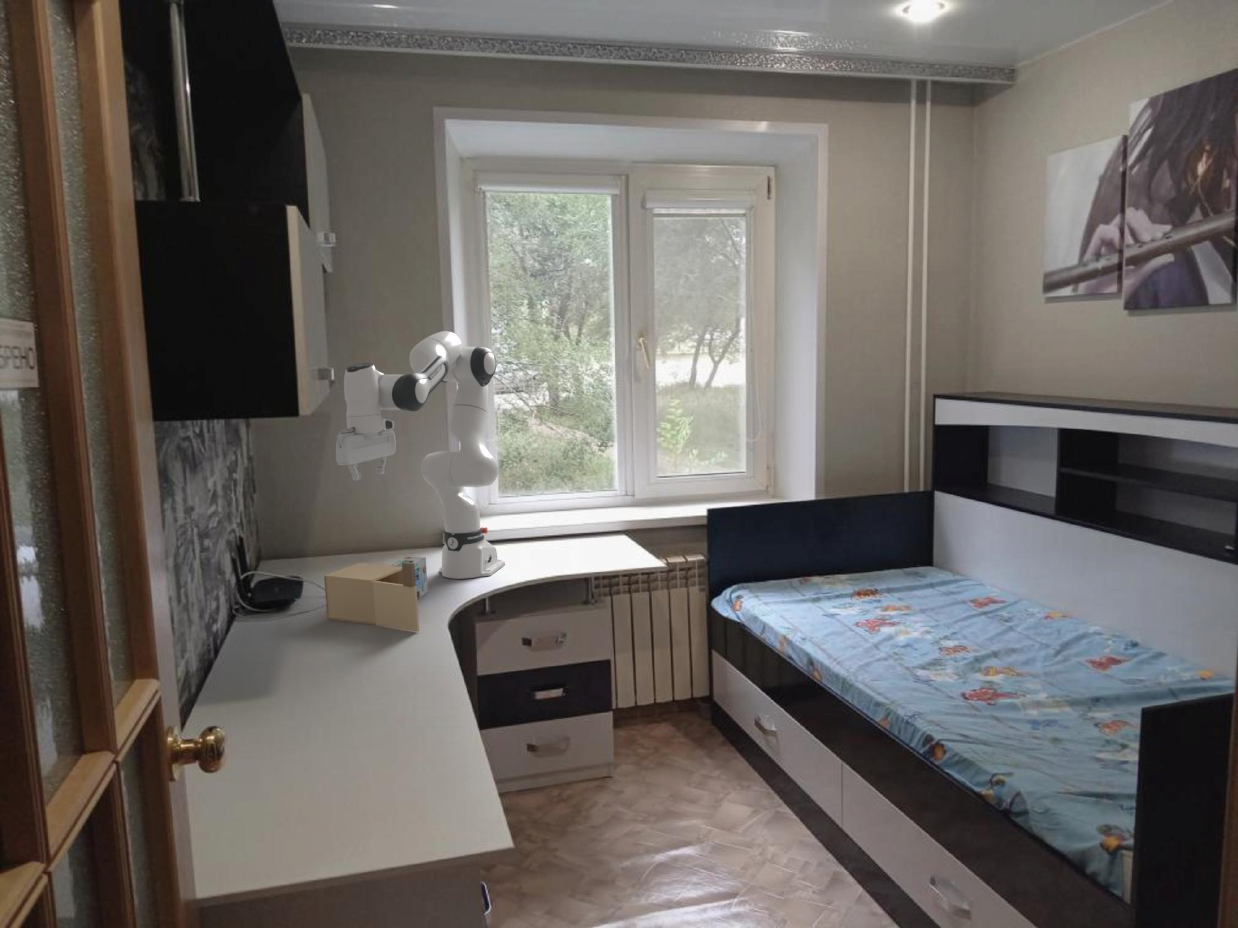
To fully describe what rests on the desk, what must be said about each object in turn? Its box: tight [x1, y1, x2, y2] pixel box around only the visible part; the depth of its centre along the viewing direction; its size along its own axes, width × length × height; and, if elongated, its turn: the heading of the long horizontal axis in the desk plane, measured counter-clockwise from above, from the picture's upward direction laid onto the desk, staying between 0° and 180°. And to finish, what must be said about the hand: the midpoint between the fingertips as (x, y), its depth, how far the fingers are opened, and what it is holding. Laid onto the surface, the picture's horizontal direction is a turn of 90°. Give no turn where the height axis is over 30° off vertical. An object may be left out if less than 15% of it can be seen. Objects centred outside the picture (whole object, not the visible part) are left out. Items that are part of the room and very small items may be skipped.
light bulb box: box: [389, 556, 429, 600], centre depth 245 cm, size 11×7×11 cm, turn 168°
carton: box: [323, 562, 403, 626], centre depth 230 cm, size 14×16×12 cm
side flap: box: [373, 562, 420, 633], centre depth 217 cm, size 14×1×18 cm, turn 62°
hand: (368, 476), depth 227 cm, fingers open, 8 cm apart
